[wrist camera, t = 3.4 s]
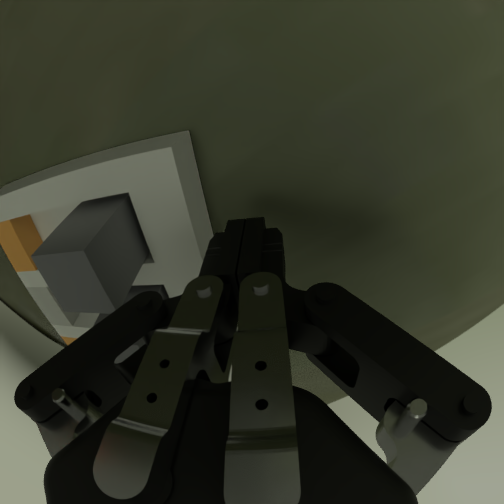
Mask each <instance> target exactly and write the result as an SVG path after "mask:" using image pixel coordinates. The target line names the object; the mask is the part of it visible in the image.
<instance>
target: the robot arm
mask: <svg viewBox="0 0 504 504" xmlns="http://www.w3.org/2000/svg"><path fill="white" fill-rule="evenodd" d="M237 324H238V331H236V330H237ZM141 338H143V340H144V342H145V343H146V344H144V345H143V346H142V347H140V348H139V349H138V350H137V351H135V352H134V353H133V354H131V355H130V356H129V357H128V358H126V359H125V360H124V361H122V362H121V363H117V364H116V363H114V362H115V359H116V358H117V357H118V356H119V355H120V354H121V353H123V352H124V351H125V350H126V349H128V348H129V347H130V346H132V345H133V344H134V343H136V342H137V341H138V340H139V339H141ZM289 349H292V350H296V351H300V352H305V353H306V356H307V357H308V359H309V360H310V361H311V362H312V363H314V364H315V365H316V366H317V367H318V368H319V369H320V370H321V371H322V372H323V373H324V374H325V375H327V376H328V377H329V378H330V379H331V380H332V381H333V382H334V383H335V384H336V385H338V386H339V387H340V388H341V389H342V390H343V391H344V392H345V393H346V394H348V395H349V396H350V397H351V398H352V399H353V400H354V401H356V402H357V403H358V404H359V405H360V406H361V407H362V408H363V409H365V410H366V411H367V412H368V413H369V414H370V415H371V416H373V417H374V418H375V419H376V420H377V421H378V422H379V425H378V427H377V429H376V440H377V443H378V445H379V446H380V447H381V448H382V450H383V451H384V453H385V455H386V458H387V464H386V463H385V462H384V461H383V460H382V459H381V458H380V457H379V456H377V454H376V453H375V452H373V451H372V450H371V449H370V448H369V447H368V446H367V445H366V444H365V443H364V442H363V441H362V440H361V439H360V438H359V437H358V436H357V435H356V434H355V433H354V432H353V431H352V430H351V429H350V428H349V427H348V426H347V425H346V424H345V423H344V422H343V421H342V420H341V419H340V418H339V417H338V416H337V415H336V414H335V413H334V412H333V411H332V410H331V409H330V408H329V407H328V405H327V404H326V403H324V402H323V401H322V400H321V399H320V398H318V397H317V396H316V395H314V394H312V393H311V392H309V391H307V390H304V389H302V388H299V387H296V386H292V376H291V366H290V356H289ZM231 365H232V373H231V381H229V374H230V370H231ZM14 400H15V404H16V406H17V407H18V408H19V409H21V410H22V411H23V412H24V413H25V414H27V415H28V416H29V417H30V418H31V419H32V420H33V421H34V422H36V424H37V425H38V428H39V431H40V433H41V435H42V438H43V440H44V442H45V444H46V446H47V449H48V451H49V453H50V455H51V457H52V459H51V460H50V461H49V463H48V465H47V467H46V471H45V474H44V489H45V494H46V500H47V504H418V501H417V498H416V495H417V494H418V493H419V492H420V491H421V489H422V488H423V487H424V486H425V485H426V484H427V483H428V482H429V481H430V479H431V478H432V477H433V476H434V475H435V474H436V472H437V471H438V470H439V469H440V468H441V466H442V465H443V464H444V463H445V461H446V460H447V459H448V457H449V456H450V455H451V454H452V452H453V451H454V450H455V448H456V447H457V446H458V445H459V444H460V443H462V442H463V441H464V440H466V439H467V438H468V437H469V436H471V435H472V434H473V433H474V432H476V431H477V430H478V429H479V428H480V427H481V426H483V425H484V424H485V423H486V421H487V420H488V418H489V416H490V413H491V409H492V405H491V399H490V396H489V394H488V393H487V391H486V390H485V389H484V388H483V387H482V386H480V385H479V384H478V383H476V382H475V381H473V380H472V379H471V378H470V377H468V376H467V375H466V374H464V373H463V372H461V371H460V370H459V369H457V368H456V367H455V366H453V365H452V364H450V363H449V362H448V361H446V360H445V359H444V358H442V357H441V356H439V355H438V354H436V353H435V352H434V351H432V350H431V349H430V348H428V347H427V346H426V345H424V344H423V343H421V342H420V341H419V340H417V339H416V338H414V337H413V336H411V335H410V334H409V333H407V332H406V331H404V330H403V329H402V328H400V327H399V326H397V325H396V324H394V323H393V322H392V321H390V320H389V319H387V318H386V317H385V316H383V315H382V314H380V313H379V312H377V311H376V310H374V309H373V308H372V307H370V306H369V305H367V304H366V303H364V302H363V301H362V300H360V299H359V298H357V297H356V296H354V295H353V294H351V293H350V292H348V291H347V290H346V289H344V288H343V287H341V286H339V285H337V284H334V283H328V282H324V283H318V284H315V285H313V286H311V287H310V288H309V289H308V290H307V291H302V290H298V289H295V288H292V287H291V286H289V285H288V284H287V283H286V282H285V257H284V247H283V237H282V234H281V232H280V231H279V230H278V228H268V229H266V226H265V219H264V217H258V218H247V219H236V220H228V222H227V225H226V229H225V232H221V233H216V234H215V235H214V236H213V237H212V238H211V240H210V241H209V244H208V247H207V250H206V254H205V257H204V260H203V263H202V266H201V269H200V273H199V276H198V277H197V278H195V279H193V280H192V281H190V282H189V283H188V284H187V285H186V287H185V289H184V292H183V294H182V295H179V296H176V297H172V298H169V299H165V300H163V298H162V296H161V294H160V293H158V292H156V291H145V292H142V293H139V294H138V295H136V296H134V297H133V298H132V299H130V300H129V301H128V302H126V303H125V304H123V305H122V306H121V307H119V308H118V309H116V310H115V311H114V312H112V313H111V314H110V315H108V316H107V317H106V318H104V319H103V320H101V321H100V322H99V323H97V324H96V325H95V326H93V327H92V328H91V329H89V330H88V331H87V332H85V333H84V334H83V335H81V336H80V337H79V338H77V339H76V340H75V341H73V342H72V343H71V344H69V345H68V346H67V347H65V348H64V349H63V350H61V351H60V352H59V353H57V354H56V355H55V356H53V357H52V358H51V359H50V360H48V361H47V362H46V363H44V364H43V365H42V366H40V367H39V368H38V369H37V370H35V371H34V372H33V373H31V374H30V375H29V376H28V377H26V378H25V379H24V380H23V381H22V382H21V383H20V384H19V385H18V387H17V389H16V391H15V396H14Z"/></svg>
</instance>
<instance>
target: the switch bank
mask: <svg viewBox="0 0 504 504" xmlns="http://www.w3.org/2000/svg"><path fill="white" fill-rule="evenodd" d="M127 192H129V195H130V198H131V201H132V204H133V207H134V210H135V212H136V215H137V218H138V221H139V223H140V226H141V229H142V232H143V234H144V237H145V239H146V242H147V245H148V247H149V250H150V252H149V254H148V256H147V257H146V259H145V261H144V263H143V265H142V267H141V269H140V271H139V273H138V275H137V276H136V278H135V280H134V282H133V284H132V286H134V285H163V284H164V287H165V289H166V291H167V294H168V296H169V298H172V297H176V296H179V295H182V294H183V292H184V289H185V287H186V285H187V284H188V283H189V282H190V281H192V280H193V279H195V278H197V277H198V276H199V273H200V269H201V266H202V263H203V260H204V257H205V254H206V250H207V247H208V244H209V241H210V240H211V238H212V237H213V236H214V235H213V231H212V227H211V223H210V219H209V215H208V211H207V207H206V202H205V198H204V194H203V190H202V186H201V181H200V177H199V173H198V168H197V164H196V160H195V155H194V151H193V146H192V142H191V137H190V133H189V130H188V131H182V132H177V133H172V134H168V135H163V136H158V137H154V138H149V139H145V140H141V141H137V142H133V143H129V144H125V145H121V146H117V147H113V148H110V149H106V150H103V151H99V152H96V153H92V154H89V155H86V156H83V157H79V158H76V159H73V160H70V161H67V162H64V163H61V164H58V165H55V166H53V167H50V168H47V169H44V170H41V171H39V172H36V173H33V174H31V175H28V176H26V177H23V178H21V179H18V180H16V181H13V182H11V183H9V184H6V185H5V186H3V187H2V188H1V189H0V244H1V246H2V248H3V250H4V251H5V253H6V255H7V257H8V259H9V260H10V262H11V264H12V266H13V267H14V269H15V271H16V272H17V274H18V276H19V277H20V279H21V280H22V282H23V284H24V285H25V287H26V288H27V290H28V291H29V293H30V294H31V296H32V297H33V299H34V300H35V302H36V303H37V305H38V306H39V308H40V309H41V311H42V312H43V313H44V315H45V316H46V318H47V319H48V320H49V322H50V323H51V324H52V326H53V327H54V328H55V330H56V331H57V332H58V334H59V335H60V336H61V337H62V339H63V340H64V341H65V342H66V344H67V345H69V344H71V343H72V342H73V341H75V340H76V339H77V338H79V337H80V336H81V335H83V334H84V333H85V332H87V331H88V330H89V329H91V328H92V327H93V325H94V323H95V321H96V319H97V318H98V316H99V314H100V313H82V312H65V311H64V310H63V308H62V307H61V305H60V304H59V302H58V301H57V299H56V298H55V296H54V295H53V293H52V292H51V290H50V288H49V287H48V285H47V284H46V282H45V280H44V279H43V277H42V275H41V274H40V272H39V270H38V268H37V267H36V265H35V263H34V261H33V260H32V258H31V255H32V254H33V253H34V252H35V251H36V250H37V248H38V247H39V246H40V245H41V244H42V243H43V242H44V240H45V239H46V238H47V237H48V236H49V235H50V234H51V233H52V232H53V231H54V230H55V228H56V227H57V226H58V225H59V224H60V223H61V222H62V221H63V220H64V219H65V218H66V217H67V216H68V215H69V214H70V213H71V212H72V211H73V210H74V209H75V208H76V207H77V206H78V205H79V204H80V203H81V202H82V201H87V200H92V199H96V198H101V197H106V196H111V195H116V194H122V193H127ZM236 331H238V326H237V330H236ZM231 373H232V365H231V370H230V374H229V381H231Z"/></svg>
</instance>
